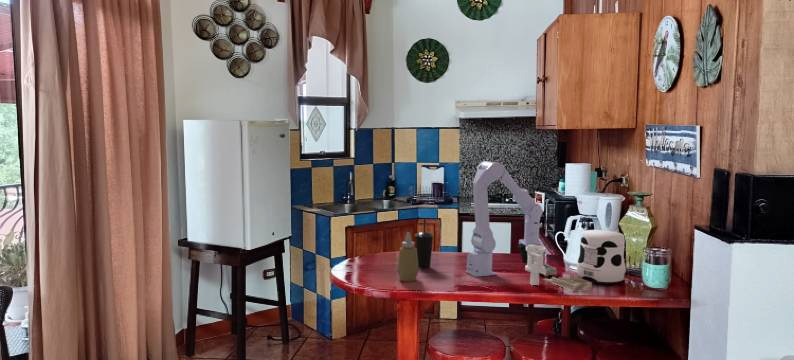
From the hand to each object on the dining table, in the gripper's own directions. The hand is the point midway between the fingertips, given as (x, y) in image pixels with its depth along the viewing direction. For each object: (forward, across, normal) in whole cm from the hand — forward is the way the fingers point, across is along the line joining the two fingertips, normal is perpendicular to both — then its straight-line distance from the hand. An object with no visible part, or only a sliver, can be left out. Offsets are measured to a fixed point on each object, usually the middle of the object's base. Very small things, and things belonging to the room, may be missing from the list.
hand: (530, 265), depth 226 cm
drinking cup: (+2, +18, +40) cm, 43 cm away
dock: (+2, -22, 0) cm, 22 cm away
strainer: (+2, -18, +11) cm, 22 cm away
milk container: (+2, -23, -15) cm, 27 cm away
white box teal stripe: (+2, -10, 0) cm, 10 cm away
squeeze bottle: (+2, +4, +52) cm, 53 cm away
